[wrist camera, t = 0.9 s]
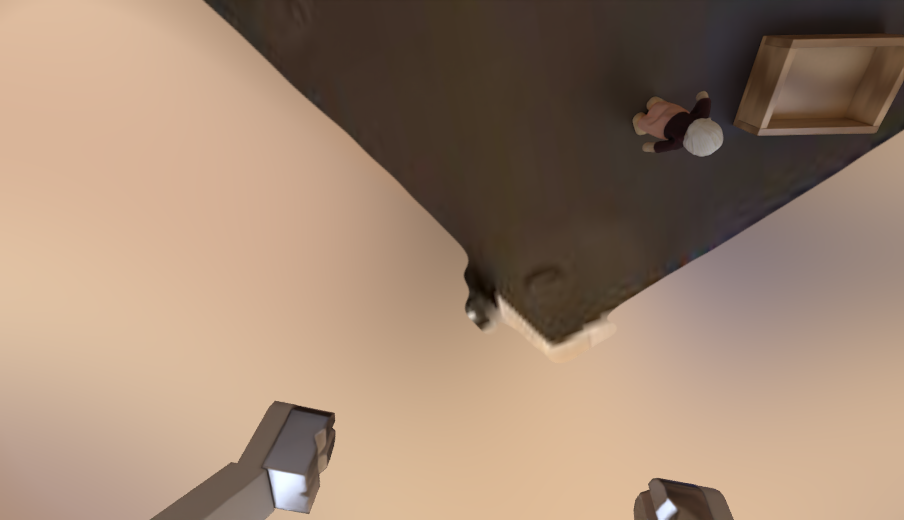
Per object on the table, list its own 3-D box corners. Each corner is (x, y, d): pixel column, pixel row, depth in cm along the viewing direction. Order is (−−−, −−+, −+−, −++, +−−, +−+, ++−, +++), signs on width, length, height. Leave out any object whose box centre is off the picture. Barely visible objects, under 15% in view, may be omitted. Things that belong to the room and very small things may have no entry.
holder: (762, 35, 45) (793, 39, 41) (885, 33, 46) (926, 36, 42) (732, 125, 50) (757, 135, 47) (842, 122, 51) (876, 133, 47)
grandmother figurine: (643, 147, 52) (697, 186, 41) (619, 133, 51) (668, 170, 40) (688, 88, 48) (760, 114, 37) (663, 72, 47) (729, 94, 36)
